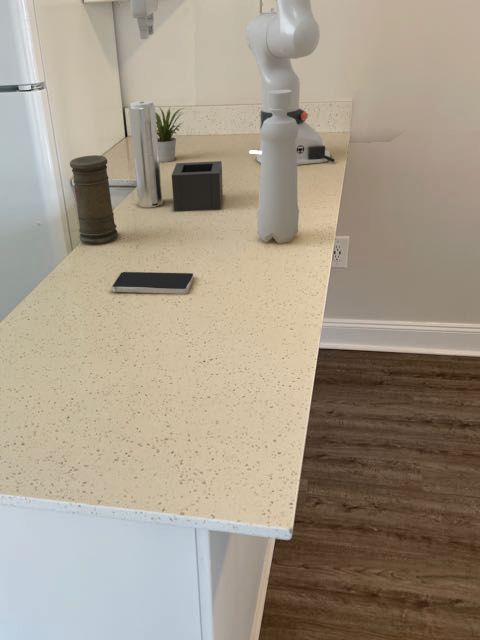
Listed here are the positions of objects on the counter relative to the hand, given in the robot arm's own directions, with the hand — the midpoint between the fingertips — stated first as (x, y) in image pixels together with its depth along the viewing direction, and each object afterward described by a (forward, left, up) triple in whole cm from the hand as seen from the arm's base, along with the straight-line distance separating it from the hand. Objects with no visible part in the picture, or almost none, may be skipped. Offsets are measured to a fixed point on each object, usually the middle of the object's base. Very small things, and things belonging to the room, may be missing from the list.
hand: (147, 36), depth 162 cm
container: (+11, +31, -39) cm, 51 cm away
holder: (-11, +6, -38) cm, 41 cm away
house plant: (+2, -43, -39) cm, 58 cm away
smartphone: (-6, +60, -39) cm, 72 cm away
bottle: (-31, +35, -39) cm, 61 cm away
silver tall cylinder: (+2, +5, -39) cm, 39 cm away
